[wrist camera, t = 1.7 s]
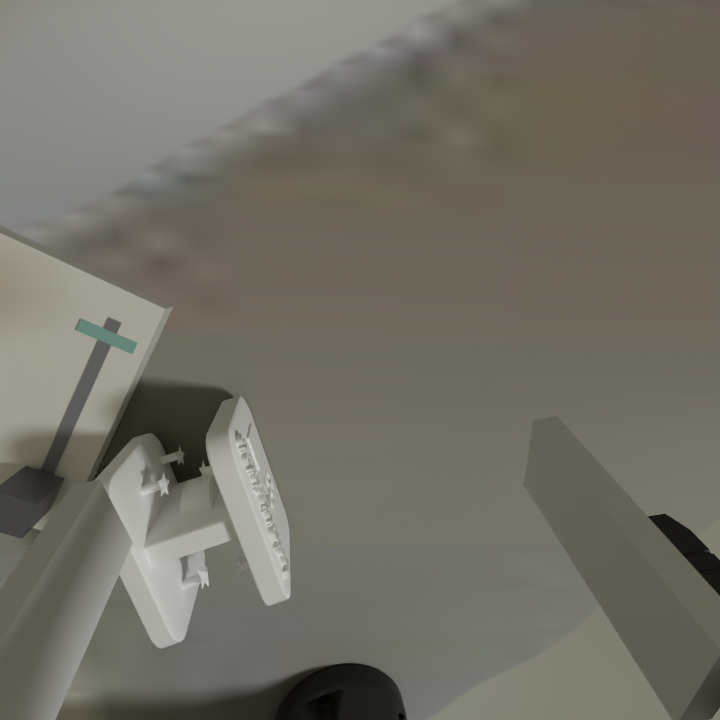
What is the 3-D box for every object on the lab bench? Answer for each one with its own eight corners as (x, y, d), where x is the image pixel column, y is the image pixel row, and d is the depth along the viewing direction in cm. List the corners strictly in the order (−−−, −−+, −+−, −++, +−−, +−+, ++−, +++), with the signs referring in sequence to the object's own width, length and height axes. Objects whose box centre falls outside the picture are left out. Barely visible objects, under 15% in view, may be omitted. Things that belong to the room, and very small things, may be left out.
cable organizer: (134, 420, 37) (70, 485, 26) (249, 386, 38) (235, 434, 27) (192, 556, 41) (157, 663, 30) (295, 521, 42) (299, 611, 31)
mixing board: (74, 519, 38) (59, 537, 35) (-142, 451, 34) (-177, 466, 31) (173, 306, 36) (165, 309, 33) (-46, 204, 31) (-75, 198, 29)
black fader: (51, 508, 35) (21, 538, 31) (12, 496, 34) (-23, 525, 30) (64, 478, 34) (37, 504, 30) (26, 465, 33) (-8, 490, 30)
